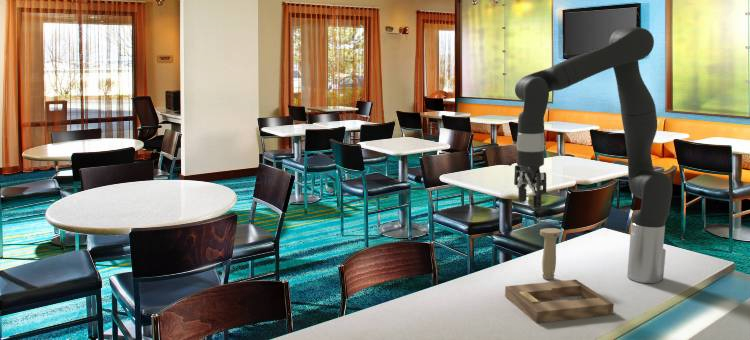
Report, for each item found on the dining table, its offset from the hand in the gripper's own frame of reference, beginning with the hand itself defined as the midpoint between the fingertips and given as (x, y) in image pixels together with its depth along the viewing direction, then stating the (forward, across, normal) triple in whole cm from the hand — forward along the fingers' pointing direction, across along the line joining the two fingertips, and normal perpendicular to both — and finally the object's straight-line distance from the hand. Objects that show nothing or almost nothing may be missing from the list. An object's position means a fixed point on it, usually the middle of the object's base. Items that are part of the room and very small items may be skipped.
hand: (529, 204), depth 175 cm
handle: (+25, +5, -9) cm, 27 cm away
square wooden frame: (+25, -14, -1) cm, 29 cm away
